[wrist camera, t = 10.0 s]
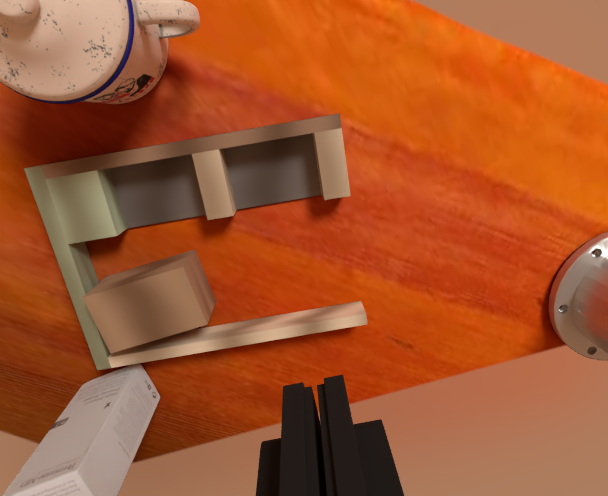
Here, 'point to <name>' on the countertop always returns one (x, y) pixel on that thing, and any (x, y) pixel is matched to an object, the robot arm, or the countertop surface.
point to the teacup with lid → (89, 47)
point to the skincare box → (92, 438)
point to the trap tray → (190, 215)
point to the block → (151, 301)
